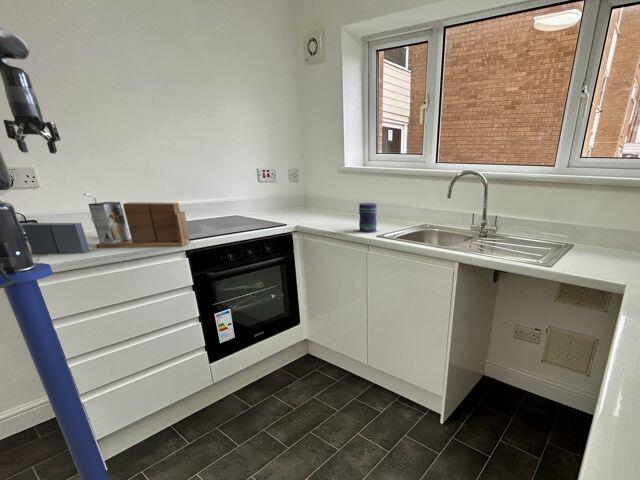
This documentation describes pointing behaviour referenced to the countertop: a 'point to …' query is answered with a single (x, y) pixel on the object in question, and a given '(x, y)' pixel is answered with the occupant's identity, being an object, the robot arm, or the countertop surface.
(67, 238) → the grey book
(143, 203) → the box
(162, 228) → the box
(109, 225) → the coffee box
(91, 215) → the cup with straw
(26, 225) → the grey book
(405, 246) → the countertop surface
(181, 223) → the wooden rack
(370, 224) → the storage jar
